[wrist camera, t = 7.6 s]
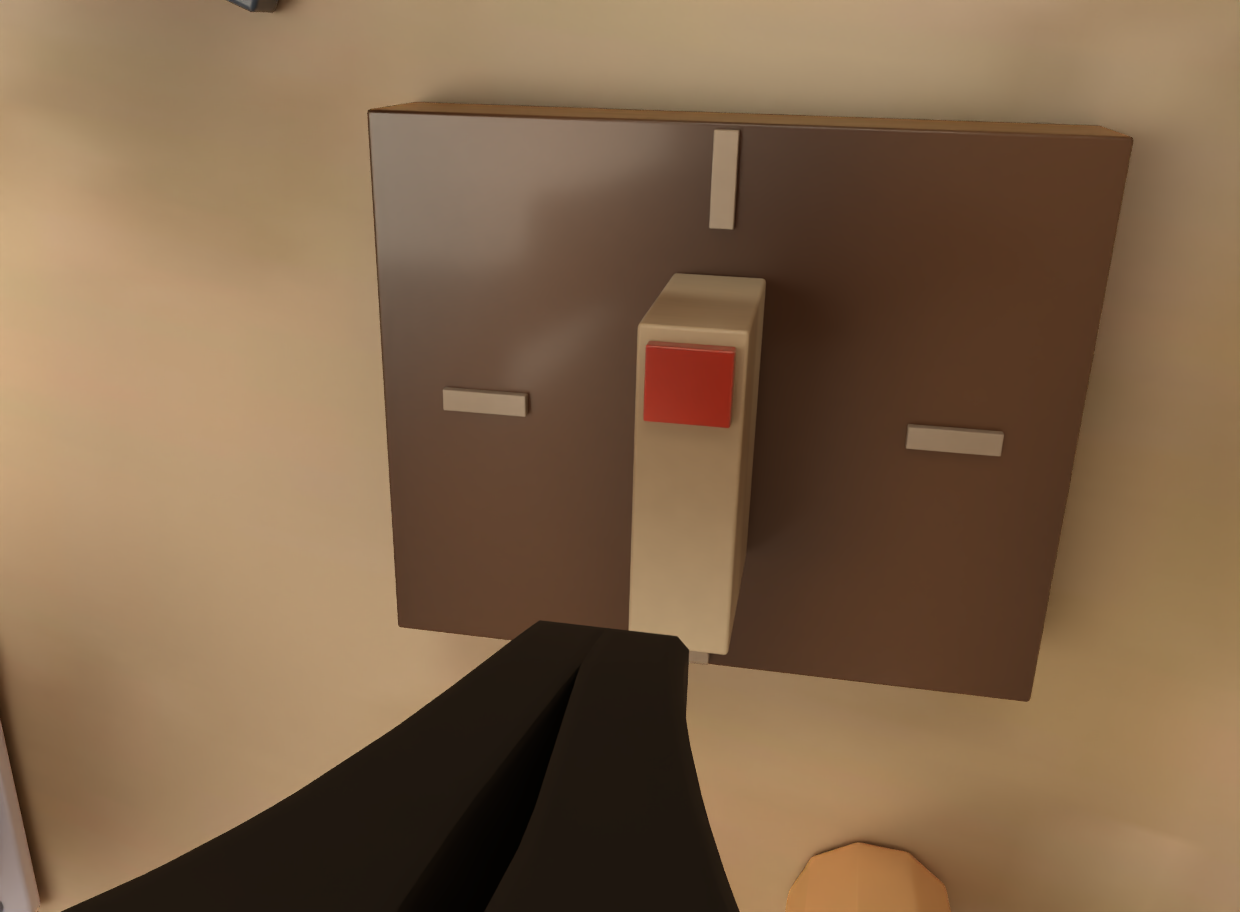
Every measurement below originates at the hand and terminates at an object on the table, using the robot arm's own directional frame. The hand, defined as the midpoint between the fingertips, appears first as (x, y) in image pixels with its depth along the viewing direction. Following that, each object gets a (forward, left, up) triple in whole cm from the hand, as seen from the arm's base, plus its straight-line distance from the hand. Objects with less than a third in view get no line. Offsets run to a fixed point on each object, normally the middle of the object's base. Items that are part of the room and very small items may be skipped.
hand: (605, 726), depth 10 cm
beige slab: (0, 0, -8) cm, 8 cm away
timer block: (0, 0, -10) cm, 10 cm away
